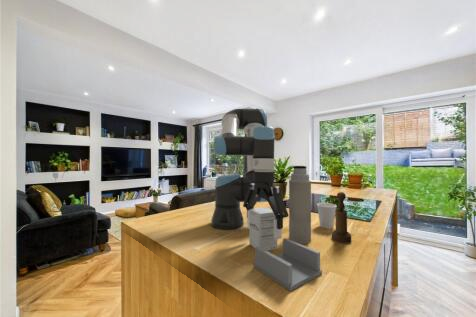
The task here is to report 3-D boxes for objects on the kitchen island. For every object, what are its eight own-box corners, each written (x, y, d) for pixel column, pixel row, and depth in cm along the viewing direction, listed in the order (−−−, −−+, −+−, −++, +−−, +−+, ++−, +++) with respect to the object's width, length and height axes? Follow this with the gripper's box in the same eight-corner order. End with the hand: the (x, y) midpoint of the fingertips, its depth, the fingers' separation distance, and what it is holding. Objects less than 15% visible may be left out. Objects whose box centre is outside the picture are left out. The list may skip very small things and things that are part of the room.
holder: (253, 266, 56) (253, 246, 56) (284, 255, 63) (284, 237, 63) (290, 291, 46) (290, 266, 46) (321, 274, 53) (321, 252, 53)
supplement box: (248, 244, 72) (248, 208, 72) (266, 241, 74) (266, 207, 75) (258, 253, 65) (259, 213, 65) (278, 249, 68) (278, 211, 68)
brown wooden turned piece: (329, 239, 76) (329, 192, 77) (334, 235, 81) (334, 190, 81) (348, 244, 72) (348, 194, 72) (353, 239, 77) (353, 192, 77)
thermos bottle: (309, 236, 79) (309, 165, 80) (312, 244, 72) (312, 166, 72) (288, 234, 81) (288, 165, 82) (289, 242, 73) (289, 165, 74)
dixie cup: (316, 222, 97) (316, 202, 97) (335, 224, 94) (335, 203, 95) (317, 228, 89) (317, 205, 90) (337, 230, 87) (337, 207, 87)
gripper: (234, 170, 78) (234, 225, 77) (283, 172, 58) (283, 247, 57) (249, 170, 82) (249, 222, 82) (299, 172, 62) (300, 241, 61)
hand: (263, 232), depth 69 cm, fingers open, 13 cm apart
